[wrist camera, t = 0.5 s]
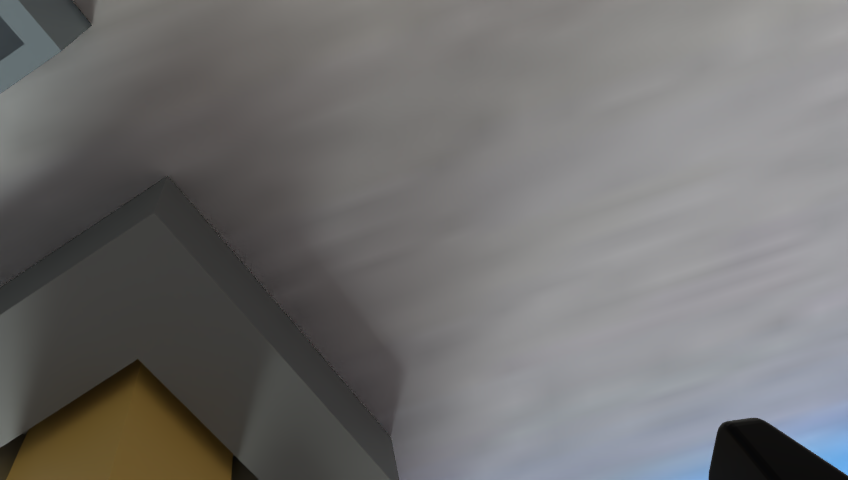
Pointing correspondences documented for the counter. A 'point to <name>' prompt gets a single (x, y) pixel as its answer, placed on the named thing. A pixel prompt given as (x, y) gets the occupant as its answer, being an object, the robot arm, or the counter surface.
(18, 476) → the block
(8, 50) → the parts tray
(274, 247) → the counter surface
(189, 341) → the grey square socket tray
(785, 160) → the counter surface
